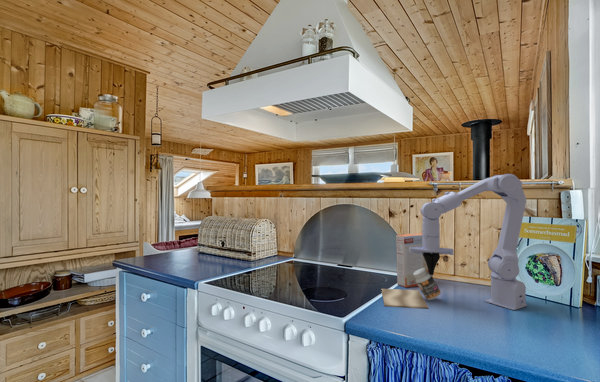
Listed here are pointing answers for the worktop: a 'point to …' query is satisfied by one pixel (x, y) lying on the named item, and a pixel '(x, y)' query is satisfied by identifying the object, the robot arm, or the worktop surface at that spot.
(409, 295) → the beige flat rectangular panel
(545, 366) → the worktop surface
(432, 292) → the pill bottle
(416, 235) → the cracker box
